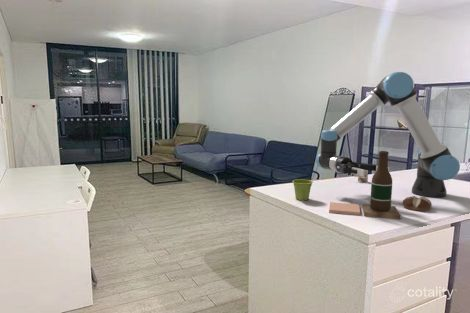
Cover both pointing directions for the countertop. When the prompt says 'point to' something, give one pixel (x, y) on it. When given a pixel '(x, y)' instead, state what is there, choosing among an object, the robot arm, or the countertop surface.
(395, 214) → the walnut board
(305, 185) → the plant pot
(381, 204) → the beer bottle
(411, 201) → the bread
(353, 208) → the terracotta tile
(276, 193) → the countertop surface
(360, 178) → the architectural model
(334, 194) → the countertop surface
